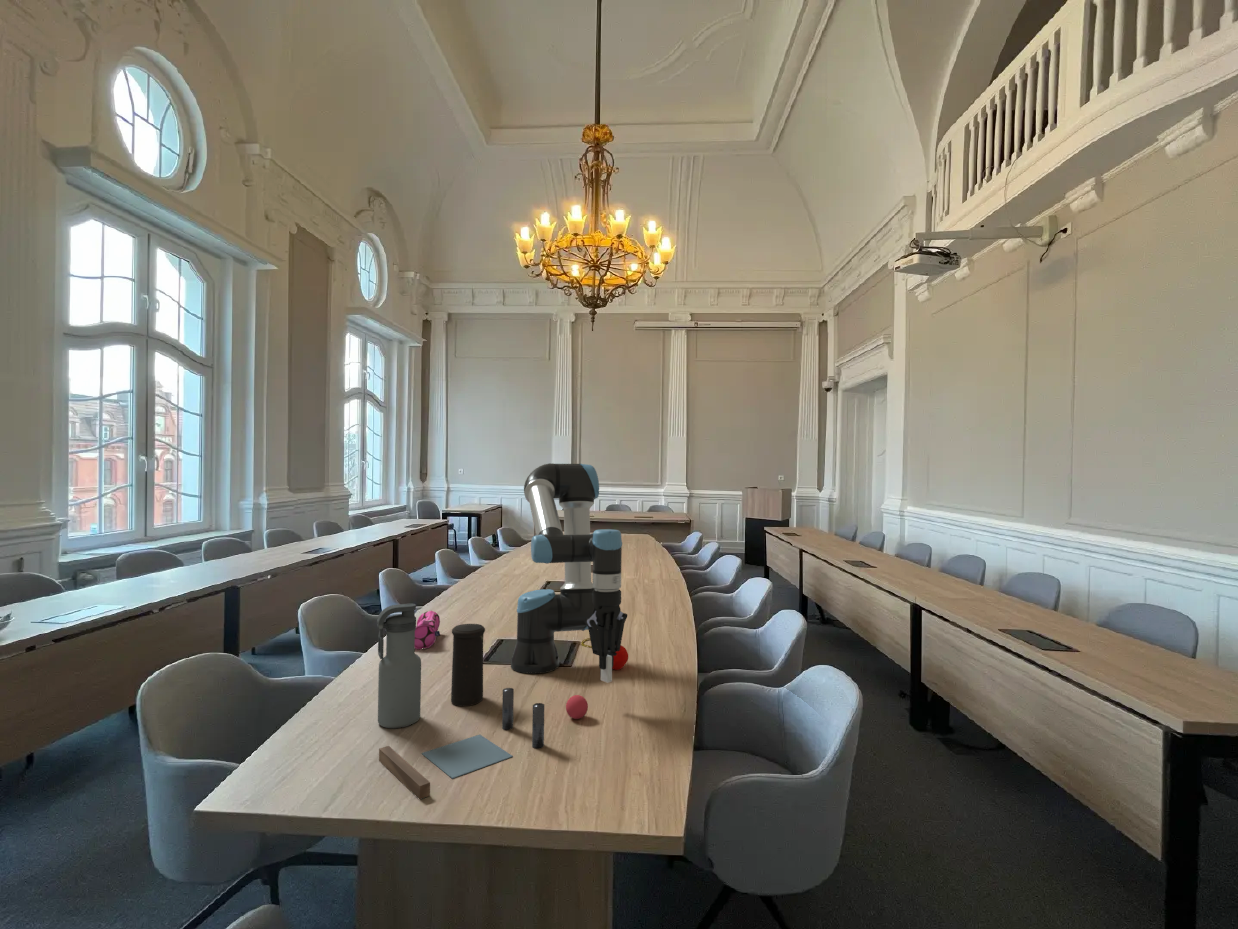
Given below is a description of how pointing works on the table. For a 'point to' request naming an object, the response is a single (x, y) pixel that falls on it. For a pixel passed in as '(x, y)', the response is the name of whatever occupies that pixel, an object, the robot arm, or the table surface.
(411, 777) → the wall
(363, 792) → the table surface
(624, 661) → the apple
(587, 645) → the yellow cable loop
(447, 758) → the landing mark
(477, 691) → the container
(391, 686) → the water bottle
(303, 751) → the table surface
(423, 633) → the pencil case
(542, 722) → the post
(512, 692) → the post
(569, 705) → the ball
